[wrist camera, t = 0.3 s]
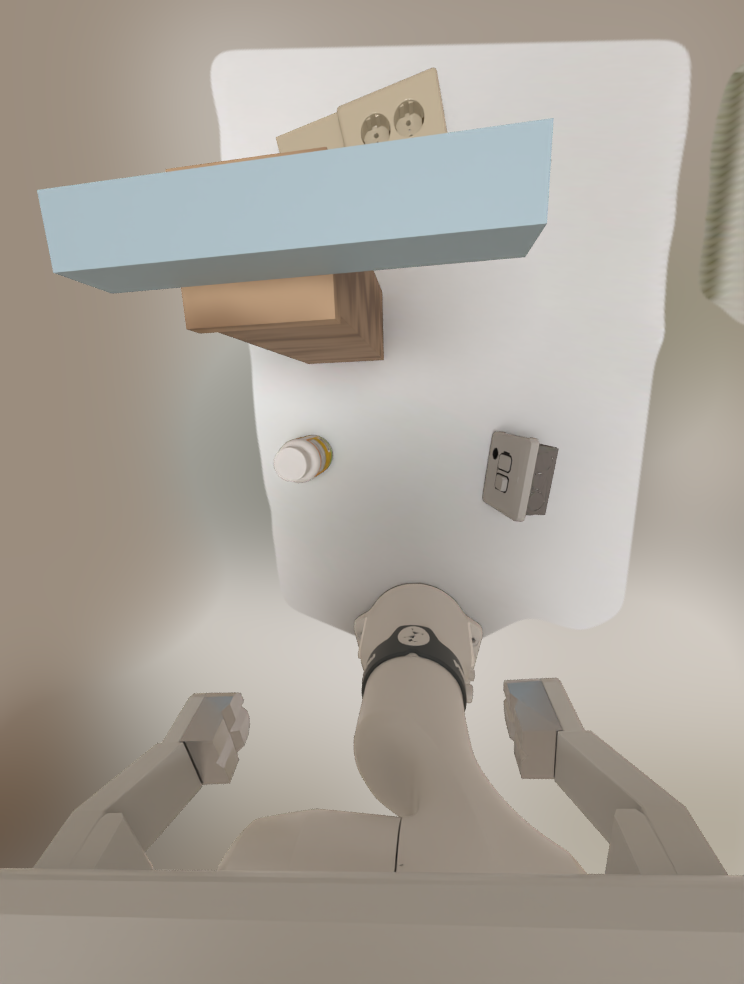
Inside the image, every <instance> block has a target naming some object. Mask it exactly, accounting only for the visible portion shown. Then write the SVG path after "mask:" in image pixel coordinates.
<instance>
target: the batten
mask: <svg viewBox="0 0 744 984" xmlns="http://www.w3.org/2000/svg"><path fill="white" fill-rule="evenodd" d="M552 134H553V118H551V119H544V120H536V121H529V122H522V123H515V124H508V125H501V126H493V127H486V128H479V129H472V130H465V131H458V132H450V133H443V134H436V135H429V136H422V137H414V138H407V139H400V140H393V141H386V142H379V143H371V144H364V145H357V146H350V147H343V148H336V149H328V150H321V151H314V152H307V153H300V154H293V155H285V156H278V157H271V158H264V159H257V160H250V161H242V162H235V163H228V164H221V165H214V166H207V167H199V168H192V169H185V170H178V171H171V172H164V173H156V174H150V175H142V176H135V177H129V178H121V179H114V180H107V181H100V182H92V183H85V184H78V185H70V186H64V187H57V188H49V189H42V190H37V192H38V197H39V202H40V207H41V212H42V217H43V222H44V227H45V232H46V237H47V242H48V247H49V252H50V257H51V262H52V267H53V273H56V274H58V275H61V276H64V277H67V278H70V279H72V280H75V281H78V282H81V283H84V284H87V285H90V286H92V287H95V288H98V289H101V290H104V291H106V292H109V293H123V292H134V291H146V290H158V289H169V288H180V287H192V286H203V285H214V284H226V283H237V282H248V281H260V280H271V279H282V278H294V277H305V276H316V275H328V274H339V273H350V272H362V271H373V270H384V269H396V268H407V267H418V266H430V265H441V264H452V263H464V262H475V261H486V260H498V259H509V258H520V257H525V256H526V255H527V253H528V252H529V250H530V249H531V247H532V246H533V244H534V243H535V241H536V239H537V238H538V236H539V235H540V233H541V232H542V230H543V229H544V227H545V226H546V224H547V214H548V198H549V182H550V166H551V150H552Z"/></svg>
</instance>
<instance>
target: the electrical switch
mask: <svg viewBox="0 0 744 984" xmlns="http://www.w3.org/2000/svg"><path fill="white" fill-rule="evenodd" d="M557 454H558V448H557V447H552V446H547V445H543V444H539V442H538V439H536V438H532V437H530V438H525V437H520V436H515V435H510V434H506V432H494V434H493V436H492V442H491V448H490V454H489V460H488V466H487V473H486V479H485V485H484V491H483V501H484V502H485V503H487V504H489V505H490V506H492V507H493V508H495V509H496V510H498V511H499V512H501V513H503V514H504V515H506V516H507V517H509V518H510V519H512V520H513V521H519V522H522V521H524V520H525V515H545V513H546V508H547V503H548V498H549V493H550V488H551V483H552V478H553V474H554V469H555V464H556V459H557ZM552 458H553V459H552ZM538 473H542V474H538ZM534 474H535V475H534ZM536 489H539V490H536ZM532 493H533V494H532ZM544 501H545V502H544Z"/></svg>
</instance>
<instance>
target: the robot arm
mask: <svg viewBox="0 0 744 984" xmlns="http://www.w3.org/2000/svg"><path fill="white" fill-rule="evenodd" d="M354 631H355V635H356V639H357V642H358V646H359V651H358V658H360V659H361V663H362V667H363V670H364V674H363V679H362V699H363V700H362V704H361V709H360V713H359V718H358V722H357V727H356V731H355V736H354V755H355V760H356V764H357V767H358V770H359V772H360V774H361V776H362V778H363V780H364V781H365V783H366V785H367V786H368V788H369V789H370V791H371V792H372V793H373V795H374V796H375V797H376V798H377V799H378V800H379V801H380V802H381V803H382V804H383V805H384V806H386V807H387V808H388V809H389V810H391V811H392V812H393V813H395V814H397V815H398V816H399V817H395V816H385V815H375V814H365V813H356V812H345V811H336V810H325V809H311V810H303V811H296V812H289V813H284V814H278V815H272V816H267V817H262V818H258V819H255V820H254V821H253V822H251V823H250V824H249V825H248V826H247V827H246V828H245V829H244V830H243V831H242V832H241V833H240V835H239V836H238V837H237V838H236V840H235V841H234V842H233V843H232V845H231V846H230V848H229V849H228V851H227V852H226V854H225V855H224V857H223V859H222V860H221V862H220V864H219V866H218V868H217V870H154V868H153V865H152V863H151V862H150V860H149V858H148V857H147V855H146V853H145V852H146V851H147V850H148V849H149V847H150V846H151V845H152V844H153V843H154V842H155V841H156V839H157V838H158V837H159V836H160V835H161V834H162V833H163V831H164V830H165V829H166V828H167V826H169V825H170V823H171V822H172V821H173V820H174V819H175V818H176V817H177V815H178V814H179V813H180V812H181V811H182V810H183V808H184V807H185V806H186V805H187V804H188V803H189V802H190V800H191V799H192V798H193V797H194V796H195V795H196V794H197V792H198V791H199V790H200V789H201V788H202V785H207V784H226V783H230V782H231V779H232V777H233V774H234V772H235V769H236V766H237V764H238V761H239V758H238V754H237V752H238V751H239V750H240V749H241V748H242V747H243V746H244V745H245V743H246V740H247V737H248V734H249V728H250V718H249V714H248V711H247V710H246V709H245V708H243V707H242V704H243V701H244V699H243V697H242V694H241V693H197V694H195V693H194V694H193V695H192V696H190V697H189V698H188V700H187V702H186V704H185V705H184V707H183V708H182V710H181V712H180V713H179V715H178V717H177V718H176V720H175V722H174V723H173V725H172V727H171V729H170V730H169V732H168V734H167V735H166V737H165V738H164V740H163V742H162V743H157V744H156V745H154V746H153V747H152V748H151V749H150V750H148V751H147V752H146V753H145V754H143V755H142V756H141V757H140V758H138V759H137V760H136V761H135V762H133V763H132V764H131V765H130V766H128V767H127V768H126V769H125V770H124V771H122V772H121V773H120V774H119V775H117V776H116V777H115V778H114V779H113V780H111V781H110V782H109V783H107V784H106V785H105V786H104V787H103V788H101V789H100V790H99V791H98V792H96V793H95V794H94V795H93V796H91V797H90V798H89V799H88V800H86V801H85V802H84V803H83V804H81V805H80V806H79V807H78V808H76V809H75V810H74V811H73V812H72V813H71V815H70V816H69V818H68V819H67V820H66V822H65V823H64V825H63V826H62V828H61V829H60V830H59V832H58V833H57V835H56V836H55V837H54V839H53V840H52V842H51V843H50V845H49V846H48V848H47V849H46V850H45V852H44V853H43V855H42V856H41V857H40V859H39V860H38V862H37V863H36V865H35V866H34V867H33V868H24V869H23V868H0V984H744V875H728V874H727V872H726V871H725V869H724V868H723V866H722V864H721V863H720V861H719V859H718V858H717V856H716V855H715V853H714V851H713V850H712V848H711V847H710V845H709V843H708V842H707V841H706V839H705V837H704V835H703V834H702V832H701V831H700V829H699V827H698V826H697V824H696V823H695V821H694V819H693V818H692V816H691V815H690V813H689V811H688V810H687V808H686V807H685V806H684V805H683V804H681V803H680V802H679V801H678V800H676V799H675V798H674V797H673V796H671V795H670V794H669V793H668V792H666V791H665V790H664V789H663V788H661V787H660V786H659V785H658V784H656V783H655V782H654V781H653V780H652V779H650V778H649V777H648V776H647V775H645V774H644V773H643V772H641V771H640V770H639V769H638V768H637V767H635V766H634V765H633V764H632V763H630V762H629V761H628V760H627V759H625V758H624V757H623V756H622V755H620V754H619V753H618V752H616V751H615V750H614V749H613V748H612V747H610V746H609V745H608V744H607V743H605V742H604V741H603V740H601V739H600V738H599V737H598V736H597V735H595V734H594V733H593V732H592V731H585V730H584V728H583V726H582V724H581V722H580V720H579V718H578V716H577V714H576V712H575V709H574V708H573V706H572V703H571V701H570V699H569V697H568V695H567V693H566V691H565V689H564V687H563V685H562V683H561V681H560V680H559V679H558V678H541V679H538V678H536V679H519V680H505V681H504V693H505V696H506V699H505V700H504V714H505V721H506V725H507V729H508V733H509V736H510V738H511V739H512V740H513V741H514V754H515V757H516V761H517V764H518V767H519V771H520V774H521V778H523V779H555V782H556V783H557V784H558V785H559V787H560V788H561V789H562V790H563V791H564V792H565V793H566V795H567V796H568V797H569V798H570V799H571V800H572V801H573V803H574V804H575V805H576V806H577V807H578V808H579V809H580V810H581V812H582V813H583V814H584V815H585V816H586V817H587V819H588V820H589V821H590V822H591V823H592V824H593V825H594V827H595V828H596V829H597V830H598V831H599V832H600V833H601V835H602V836H603V837H604V838H605V839H606V840H607V841H608V842H609V844H610V845H609V852H608V858H607V864H606V870H605V874H587V873H586V872H585V871H584V869H583V868H582V867H581V865H580V864H579V863H578V862H577V861H576V860H575V859H574V857H573V856H572V855H571V854H570V853H569V852H568V851H567V850H565V849H564V848H562V847H561V846H559V845H558V844H556V843H555V842H553V841H552V840H550V839H549V838H547V837H546V836H544V835H543V834H542V833H540V832H539V831H538V830H536V829H535V828H534V827H532V826H531V825H530V824H529V823H527V821H526V820H524V819H523V818H522V817H521V816H520V815H519V814H518V813H517V812H516V811H515V810H514V809H513V808H512V807H511V806H510V805H509V804H508V803H507V802H506V801H505V800H504V799H503V798H502V796H501V795H500V794H499V793H498V792H497V791H496V789H495V788H494V787H493V785H492V784H491V783H490V782H489V780H488V779H487V777H486V776H485V774H484V773H483V771H482V770H481V768H480V766H479V764H478V763H477V760H476V758H475V756H474V753H473V750H472V747H471V742H470V738H469V734H468V729H467V724H466V718H465V709H466V703H471V702H472V699H473V686H472V685H470V681H474V677H475V672H474V670H473V669H474V666H475V662H476V658H477V654H478V651H479V647H480V643H481V640H482V636H483V631H482V627H481V626H480V625H479V624H478V623H477V622H475V621H474V620H472V619H471V618H469V617H467V616H466V615H465V614H464V612H463V611H462V610H461V608H460V607H459V605H458V604H457V603H456V602H455V601H454V600H453V599H452V598H451V597H450V596H449V595H448V594H446V593H445V592H443V591H441V590H439V589H437V588H435V587H432V586H429V585H424V584H405V585H400V586H397V587H395V588H392V589H390V590H389V591H387V592H385V593H384V594H383V595H382V596H381V597H380V598H379V599H378V600H377V601H376V602H375V604H374V605H373V607H372V608H371V609H370V610H369V611H368V612H366V613H364V614H363V615H361V616H359V617H358V618H357V619H356V620H355V622H354ZM472 638H475V639H474V640H472Z"/></svg>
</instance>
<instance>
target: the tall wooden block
mask: <svg viewBox="0 0 744 984" xmlns="http://www.w3.org/2000/svg"><path fill="white" fill-rule="evenodd" d="M321 150H328V149H327V147H320V148H313V149H306V150H299V151H292V152H285V153H278V154H270V155H263V156H256V157H249V158H242V159H235V160H228V161H221V162H214V163H207V164H200V165H192V166H185V167H178V168H171V169H166V172H171V171H178V170H185V169H192V168H199V167H207V166H214V165H221V164H228V163H235V162H242V161H250V160H257V159H264V158H271V157H278V156H285V155H293V154H300V153H307V152H314V151H321ZM181 291H182V298H183V306H184V313H185V321H186V328H187V329H188V330H191V331H194V332H197V333H214V332H219V333H221V334H225V335H227V336H230V337H233V338H236V339H239V340H242V341H244V342H247V343H250V344H253V345H256V346H259V347H262V348H265V349H267V350H270V351H273V352H276V353H279V354H282V355H285V356H288V357H290V358H293V359H296V360H299V361H302V362H305V363H308V364H315V363H334V362H354V361H373V360H384V352H383V310H382V290H381V288H380V286H379V283H378V281H377V278H376V276H375V273H374V271H362V272H350V273H339V274H328V275H316V276H305V277H294V278H282V279H271V280H260V281H248V282H237V283H226V284H214V285H203V286H192V287H181Z"/></svg>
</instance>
